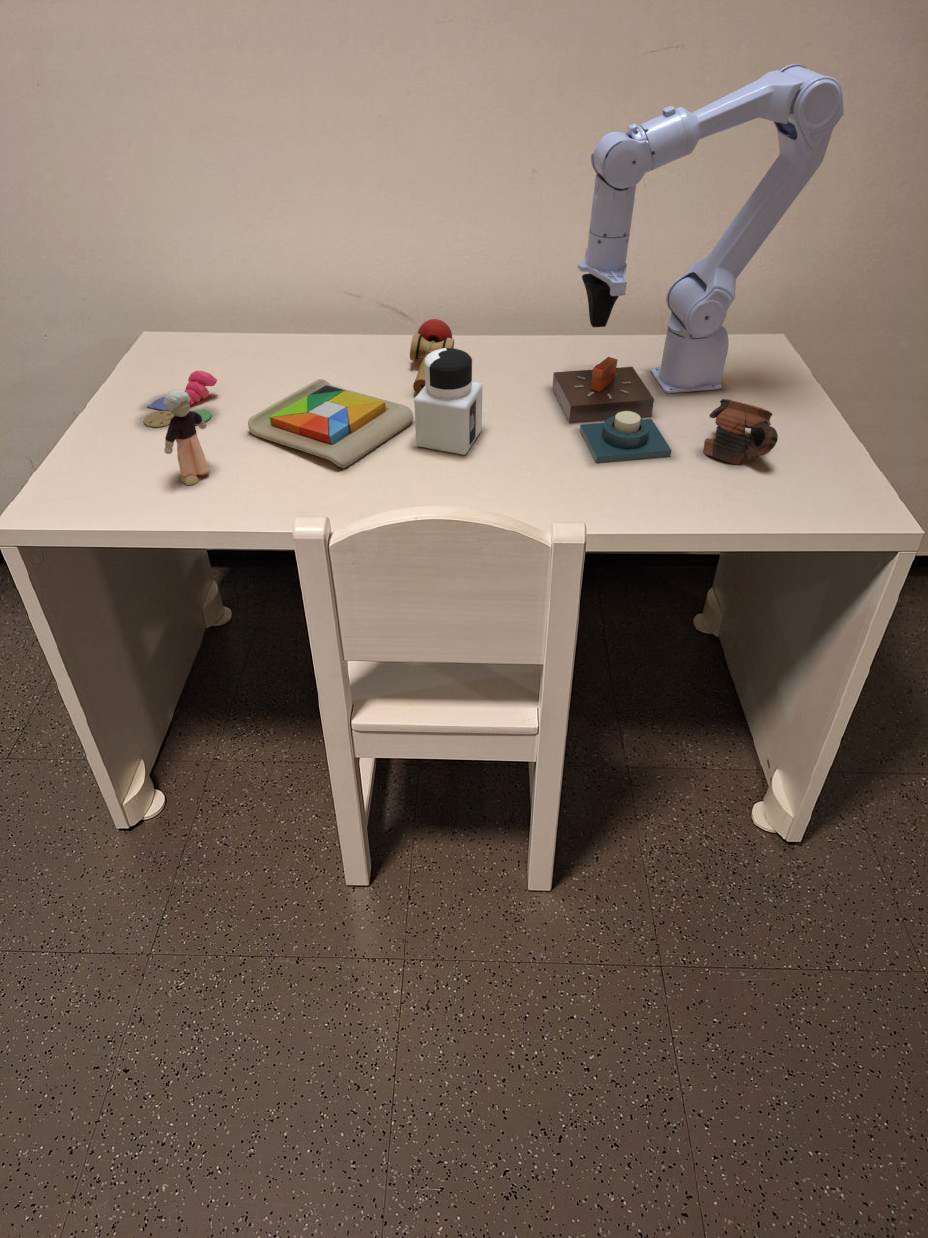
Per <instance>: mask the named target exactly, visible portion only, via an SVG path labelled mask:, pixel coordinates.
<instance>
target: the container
mask: <svg viewBox="0 0 928 1238" xmlns="http://www.w3.org/2000/svg"><path fill="white" fill-rule="evenodd" d="M413 402H414V404H413V405H414V406H413V407H414V424H415V425H414V427H415V442H416V443H415V444H416V446H417V447H419V448H423V449H428V450H429V449H430V450H434V451H441V452H446V453H450V454H456V455H462V456H465V455H466V454H467V453H468V451H469V450H470V449H471V447H472V445H473V444H474V443H475V442H476V440H477V438H478V436H479V434H480V433H481V432H482V430H483V384H482V382H478V381H473V358H472V356H471V355H470V354H469V353H468V352H466V351H464V350H462V349H459V348H443V349H438V350H435V351H433V352H431V353H429V354H428V355H427V357H426V358H425V386H424V388H423V389H422V390H421V391H420V393H419V394H417V395H416V396H415V397H414V400H413Z"/></svg>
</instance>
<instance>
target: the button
mask: <svg viewBox="0 0 928 1238" xmlns="http://www.w3.org/2000/svg"><path fill="white" fill-rule="evenodd" d="M641 419H642V417H640V416H639V415H638V414H637V413H634V412H631V411H622V412H619V413H617V414H616V416H615V422H614V429H615V430H616V431H618V432H621V433H626V434H630V433H636V432H638V430H639V426H640V420H641Z"/></svg>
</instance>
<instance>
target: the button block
mask: <svg viewBox="0 0 928 1238" xmlns="http://www.w3.org/2000/svg"><path fill="white" fill-rule="evenodd" d="M615 416H616V415H615ZM615 416H612V417H610V418H608V419H606V420H604V422H595V423H582V424H580V425H579V433H580V435H581V437H582V439H583V440H584V442H585V444H586V446H587V449H588V451H589V453H590V455H591V456H592V458H593V461H594V463H595V464H602V463H603V464H604V463H614V462H627V461H637V460H638V461H639V460H650V459H659V458H660V459H663V458H670V457H671V455H672V449H671V447H670V445H669V443H668V442H667V441H666V439H665V438H664V436H663V435H662V433H661V431H660V430H659V428H658V426H657V425H656V424H655V422H654V420H653V419H652V418H644V419H643V418H641V420H640V426H639V430H638V432H636V433H630V434H626V433H621V432H618V431H616V430H615V429H614V422H615Z"/></svg>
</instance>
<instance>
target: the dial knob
mask: <svg viewBox="0 0 928 1238" xmlns="http://www.w3.org/2000/svg"><path fill="white" fill-rule="evenodd" d="M617 366H618V359H617V358H614V357H611V356H607V357H606V358H605V359H603V360H602V361H601V362H598V363H597V364H596V365H595V366H594V367H593V368H592V369H593V374H592V382H591V390H594V391H597V392H601V391H602V390H603V389H604V388H606V387H607V386H608V385H610V384H611V383H612V382H613V381H615V374H616V368H618V367H617Z"/></svg>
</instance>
